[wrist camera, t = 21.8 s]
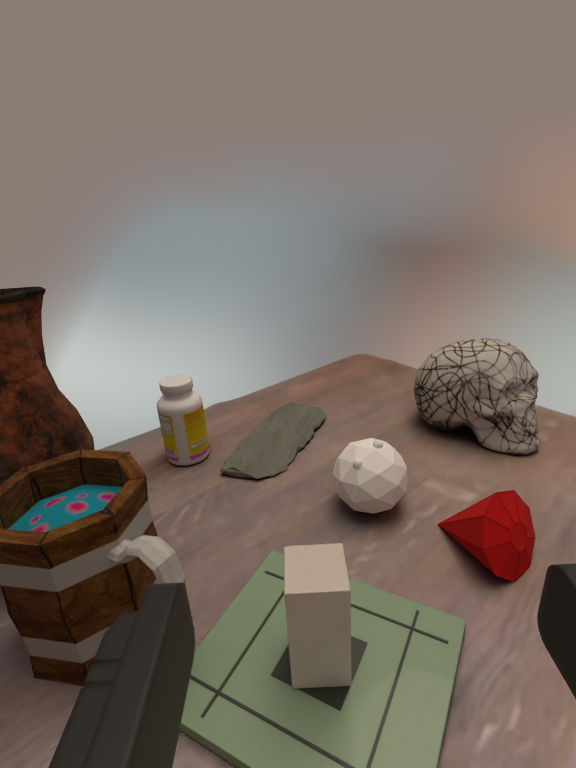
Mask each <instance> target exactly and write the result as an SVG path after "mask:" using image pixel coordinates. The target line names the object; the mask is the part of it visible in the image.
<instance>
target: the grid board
mask: <svg viewBox="0 0 576 768" xmlns="http://www.w3.org/2000/svg"><path fill="white" fill-rule="evenodd" d="M348 578H349V577H348ZM349 584H350V589H351V686H339V687H319V688H298V689H293V688H292V680H291V668H290V657H289V645H288V634H287V622H286V610H285V599H284V554H282V553H279V552H276V551H274V550H271V552H270V553H269V554H268V556H267V557H266V558H265V560H264V561H263V562H262V563H261V565H260V566H259V567H258V569H257V570H256V571H255V573H254V574H253V575H252V577H251V578H250V579H249V580H248V582H247V583H246V584H245V586H244V587H243V588H242V590H241V591H240V592H239V593H238V595H237V596H236V597H235V599H234V600H233V601H232V603H231V604H230V605H229V607H228V608H227V609H226V610H225V612H224V613H223V614H222V616H221V617H220V618H219V620H218V621H217V622H216V624H215V625H214V626H213V627H212V629H211V630H210V631H209V633H208V634H207V635H206V637H205V638H204V639H203V641H202V642H201V643H200V644H199V646H198V647H197V648H196V650H195V651H194V659H193V665H192V670H191V675H190V680H189V685H188V690H187V695H186V700H185V705H184V710H183V715H182V720H181V725H180V731H182V732H183V733H185V734H186V735H188V736H190V737H191V738H193V739H194V740H196V741H197V742H199V743H200V744H202V745H203V746H205V747H206V748H208V749H210V750H211V751H213V752H214V753H216V754H217V755H219V756H220V757H222V758H223V759H225V760H226V761H228V762H230V763H231V764H233V765H234V766H236V767H237V768H438V763H439V758H440V753H441V748H442V743H443V738H444V733H445V728H446V723H447V718H448V713H449V708H450V703H451V698H452V693H453V688H454V683H455V678H456V673H457V668H458V663H459V657H460V652H461V647H462V642H463V637H464V632H465V626H466V619H463V618H460V617H458V616H455V615H452V614H449V613H446V612H444V611H441V610H438V609H435V608H432V607H430V606H427V605H424V604H421V603H419V602H416V601H413V600H410V599H407V598H405V597H402V596H399V595H396V594H393V593H391V592H388V591H385V590H382V589H380V588H377V587H374V586H371V585H368V584H366V583H363V582H360V581H357V580H354V579H352V578H349Z"/></svg>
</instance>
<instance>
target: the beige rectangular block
mask: <svg viewBox="0 0 576 768" xmlns="http://www.w3.org/2000/svg"><path fill="white" fill-rule="evenodd" d="M284 599H285V610H286V622H287V634H288V645H289V657H290V668H291V680H292V688H293V689H298V688H319V687H339V686H351V589H350V584H349V578H348V572H347V566H346V560H345V554H344V548H343V544H342V543H336V544H318V545H299V546H285V547H284Z"/></svg>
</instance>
